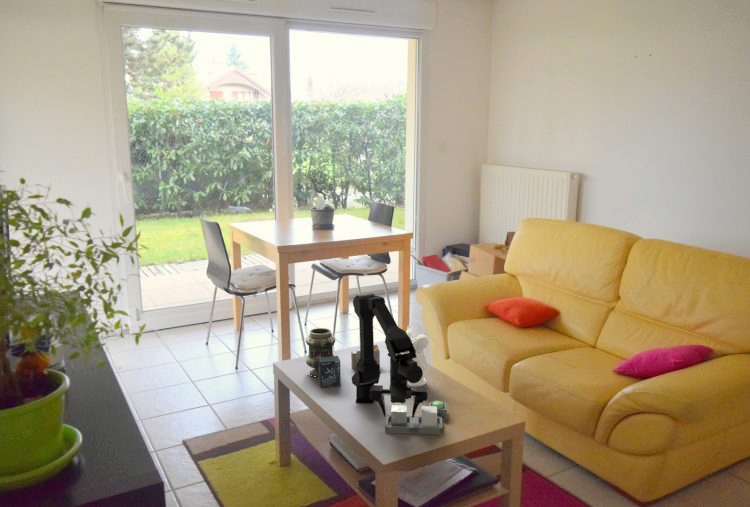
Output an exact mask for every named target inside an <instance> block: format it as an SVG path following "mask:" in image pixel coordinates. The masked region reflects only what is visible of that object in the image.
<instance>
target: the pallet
mask: <svg viewBox="0 0 750 507" xmlns="http://www.w3.org/2000/svg"><path fill="white" fill-rule="evenodd" d="M385 418H386V419H385V426H384V433H387V434H391V433H392V434H415V435H416V434H417V435H418V434H420V435H422V434H423V435H424V434H425V435H443V430H444V429H443V419H442V417H437V406H429V405H426V406H425V405H421V416H420V415H414V418H412V415H407V426H391V414H390V415H389V414H388V415H387V414H386V417H385Z"/></svg>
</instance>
